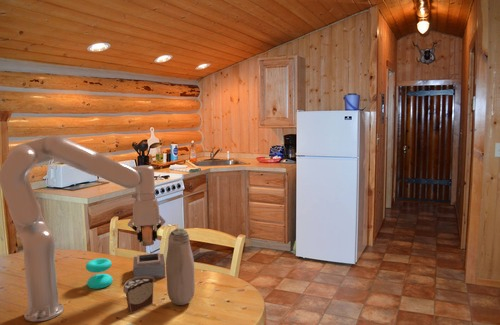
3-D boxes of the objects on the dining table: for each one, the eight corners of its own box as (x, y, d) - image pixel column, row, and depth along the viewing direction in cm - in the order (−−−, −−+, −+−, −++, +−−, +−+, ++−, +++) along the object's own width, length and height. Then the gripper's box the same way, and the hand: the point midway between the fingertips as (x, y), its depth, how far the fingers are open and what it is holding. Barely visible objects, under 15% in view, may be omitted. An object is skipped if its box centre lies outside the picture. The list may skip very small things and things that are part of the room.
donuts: (106, 255, 177) (115, 261, 169) (107, 277, 178) (116, 285, 170) (82, 261, 170) (90, 268, 163) (83, 284, 172) (92, 292, 164)
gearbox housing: (165, 277, 177) (164, 261, 176) (133, 281, 174) (133, 264, 173) (163, 266, 189) (163, 251, 188) (134, 269, 186) (133, 254, 185)
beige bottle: (198, 305, 151) (195, 231, 147) (170, 311, 147) (166, 235, 144) (191, 294, 160) (189, 224, 156) (165, 299, 156) (162, 227, 153)
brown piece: (145, 297, 158) (144, 272, 157) (155, 302, 154) (154, 276, 153) (117, 310, 149) (115, 283, 147) (127, 315, 145) (126, 288, 144)
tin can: (154, 245, 165) (153, 225, 164) (141, 246, 164) (140, 226, 163) (153, 241, 170) (152, 222, 169) (141, 242, 168) (140, 223, 167)
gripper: (122, 200, 158) (125, 245, 161) (167, 197, 163) (169, 241, 165) (123, 196, 166) (125, 240, 168) (166, 193, 170) (168, 236, 172)
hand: (147, 240), depth 167 cm, fingers closed on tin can, 5 cm apart
